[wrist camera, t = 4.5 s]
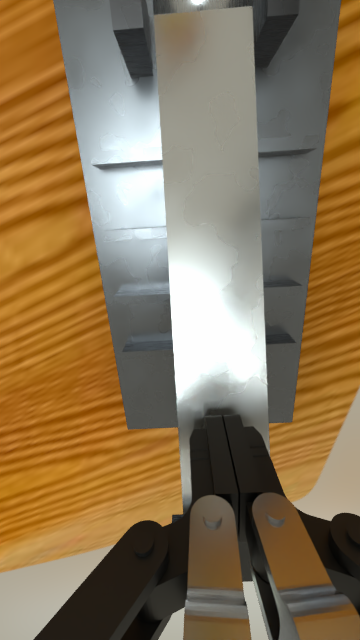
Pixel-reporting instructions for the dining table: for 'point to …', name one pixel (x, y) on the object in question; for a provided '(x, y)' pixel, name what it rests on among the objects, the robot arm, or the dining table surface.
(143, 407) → the clamp base
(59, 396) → the dining table surface
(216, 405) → the bar
